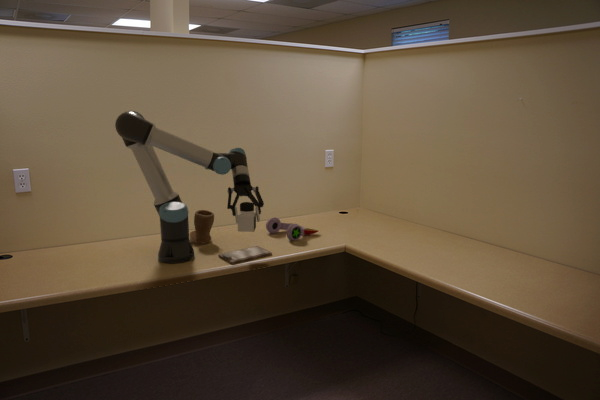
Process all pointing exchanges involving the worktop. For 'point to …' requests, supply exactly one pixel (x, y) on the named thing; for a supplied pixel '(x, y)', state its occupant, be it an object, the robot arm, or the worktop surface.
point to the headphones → (288, 229)
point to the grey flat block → (244, 254)
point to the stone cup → (202, 226)
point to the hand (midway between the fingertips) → (248, 221)
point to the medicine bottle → (247, 217)
